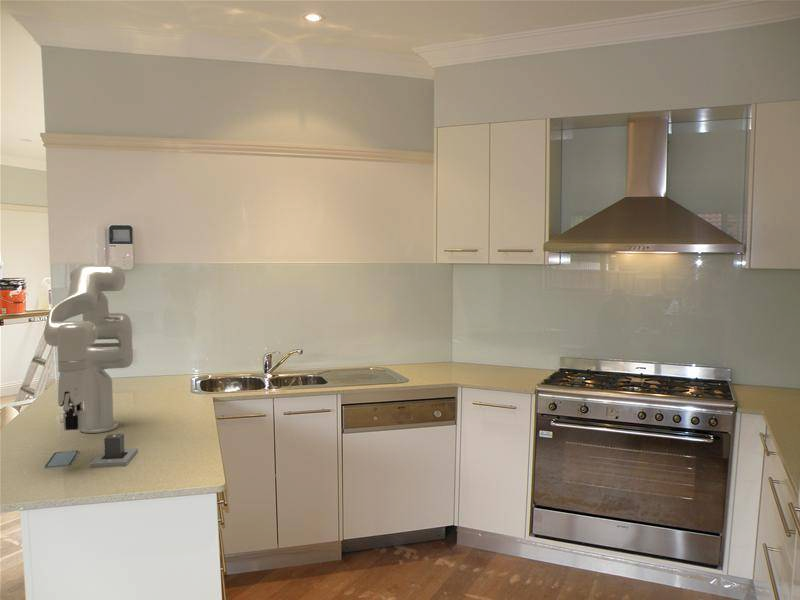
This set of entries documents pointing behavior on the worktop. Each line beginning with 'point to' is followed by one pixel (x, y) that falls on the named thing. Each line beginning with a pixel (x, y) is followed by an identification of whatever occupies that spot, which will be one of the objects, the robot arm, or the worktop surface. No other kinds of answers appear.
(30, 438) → the worktop surface
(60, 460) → the smartphone
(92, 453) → the worktop surface
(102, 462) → the outlet plate
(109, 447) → the block
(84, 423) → the cable plug
